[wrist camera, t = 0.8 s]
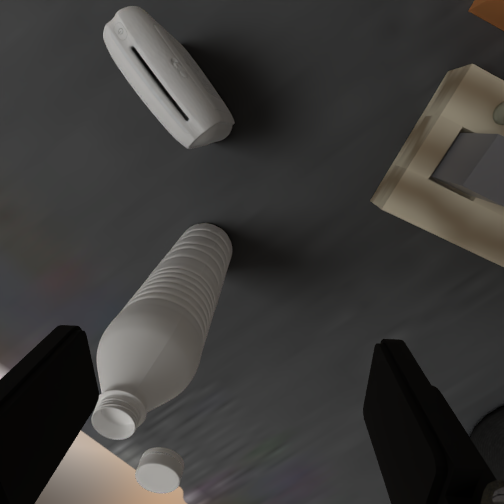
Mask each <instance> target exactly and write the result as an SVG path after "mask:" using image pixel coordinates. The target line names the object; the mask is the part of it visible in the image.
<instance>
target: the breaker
mask: <svg viewBox="0 0 504 504" xmlns="http://www.w3.org/2000/svg"><path fill="white" fill-rule="evenodd" d="M431 176H432V177H434V178H436V179H438V180H440V181H442V182H444V183H446V184H448V185H450V186H452V187H454V188H456V189H458V190H460V191H462V192H464V193H466V194H468V195H471V196H474V197H476V198H479V199H482V200H485V201H488V202H491V203H494V204H497V205H500V206H503V207H504V136H502V135H500V134H483V133H459V134H458V136H457V137H456V139H455V140H454V142H453V143H452V145H451V146H450V148H449V149H448V151H447V152H446V154H445V155H444V157H443V158H442V160H441V162H440V163H439V165H438V166H437V168H436V169H435V171H434V172H433V174H432V175H431Z"/></svg>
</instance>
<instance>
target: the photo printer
mask: <svg viewBox="0 0 504 504" xmlns="http://www.w3.org/2000/svg"><path fill="white" fill-rule="evenodd" d="M103 39H104V42H105V44H106V46H107V49H108V51H109V53H110V55H111V57H112V58H113V60H114V61H115V63H116V65H117V66H118V68H119V69H120V71H121V72H122V74H123V75H124V76H125V78H126V79H127V81H128V82H129V83H130V85H131V86H132V87H133V89H134V90H135V91H136V93H137V94H138V95H139V97H140V98H141V99H142V100H143V102H144V103H145V104H146V106H147V107H148V108H149V109H150V110H151V112H152V113H153V114H154V115H155V116H156V118H157V119H158V120H159V121H160V122H161V124H162V125H163V126H164V127H165V128H166V129H167V130H168V132H169V133H170V134H171V135H172V136H173V137H174V138H175V139H176V140H177V141H178V142H180V143H181V144H182V145H183V146H185V147H186V148H187V149H191V148H196V147H201V146H205V145H209V144H211V143H213V142H217V141H221V140H223V139H225V138H226V137H227V136H228V135H229V134H230V132H231V129H232V125H233V124H235V122H234V119H233V117H232V115H231V113H230V111H229V109H228V108H227V106H226V105H225V103H224V102H223V100H222V99H221V97H220V96H219V94H218V93H217V91H216V90H215V89H214V87H213V86H212V84H211V83H210V81H209V80H208V79H207V77H206V76H205V74H204V73H203V71H202V70H201V69H200V67H199V66H198V65H197V63H196V62H195V61H194V59H193V58H192V57H191V55H190V54H189V53H188V51H187V50H186V49H185V48H184V47H183V46H182V45H181V44H180V43H179V42H178V41H177V40H176V39H175V38H174V37H173V36H171V35H170V34H169V33H168V32H167V31H166V30H165V29H164V28H163V27H162V26H161V25H159V24H158V23H157V22H156V21H155V20H154V19H153V18H152V17H151V16H150V15H149V14H148V13H147V12H145V11H144V10H143V9H142V8H140V7H137V6H129V7H125V8H123V9H120V10H119V11H118V12H117V13H116V15H115V17H114V18H113V19H112V20H111V21H110V22H108V23H107V24H106V26H105V28H104V32H103Z"/></svg>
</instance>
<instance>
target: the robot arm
mask: <svg viewBox="0 0 504 504" xmlns="http://www.w3.org/2000/svg"><path fill="white" fill-rule="evenodd" d="M98 399H99V391H98V386H97V382H96V377H95V373H94V368H93V363H92V359H91V354H90V350H89V345H88V340H87V336H86V333H85V331H82V330H81V328H80V327H79V326H69V325H60V326H58V327H56V328H55V329H54V330H53V331H52V332H51V333H50V334H49V335H48V336H47V337H46V338H44V339H43V340H42V341H41V342H40V343H39V344H38V345H37V346H36V347H35V348H34V349H33V350H32V351H30V352H29V353H28V354H27V355H26V356H25V357H24V358H23V359H22V360H21V361H20V362H19V363H18V364H17V365H15V366H14V367H13V368H12V369H11V370H10V371H9V372H8V373H7V374H6V375H5V376H4V377H3V378H2V379H0V504H35V502H36V500H37V499H38V497H39V495H40V494H41V492H42V491H43V489H44V488H45V486H46V484H47V483H48V481H49V480H50V478H51V477H52V475H53V473H54V472H55V470H56V468H57V467H58V465H59V464H60V462H61V460H62V459H63V457H64V456H65V454H66V452H67V451H68V449H69V448H70V446H71V445H72V443H73V441H74V440H75V438H76V437H77V435H78V433H79V432H80V430H81V429H82V427H83V426H84V424H85V422H86V421H87V419H88V418H89V416H90V414H91V413H92V411H93V410H94V408H95V406H96V405H97V402H98ZM363 415H364V420H365V423H366V426H367V429H368V432H369V436H370V439H371V442H372V445H373V448H374V451H375V454H376V457H377V460H378V464H379V467H380V470H381V473H382V476H383V479H384V482H385V485H386V488H387V492H388V495H389V498H390V501H391V504H504V480H497V479H496V478H495V476H494V475H493V473H492V471H491V470H490V468H489V467H488V465H487V464H486V462H485V461H484V459H483V457H482V456H481V454H480V453H479V451H478V450H477V448H476V447H475V445H474V443H473V442H472V440H471V439H470V437H469V436H468V434H467V433H466V431H465V429H464V428H463V426H462V425H461V423H460V422H459V420H458V419H457V417H456V415H455V414H454V412H453V411H452V409H451V408H450V406H449V405H448V403H447V401H446V400H445V398H444V397H443V395H442V394H441V392H440V391H439V390H438V389H437V388H436V387H435V386H431V384H430V382H429V381H428V379H427V378H426V376H425V374H424V373H423V371H422V370H421V368H420V366H419V365H418V363H417V362H416V360H415V358H414V357H413V355H412V354H411V352H410V350H409V349H408V347H407V346H406V344H405V342H404V341H403V340H395V339H383V340H382V341H381V343H380V344H376V345H375V348H374V353H373V359H372V364H371V369H370V375H369V380H368V385H367V390H366V396H365V401H364V407H363Z"/></svg>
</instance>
